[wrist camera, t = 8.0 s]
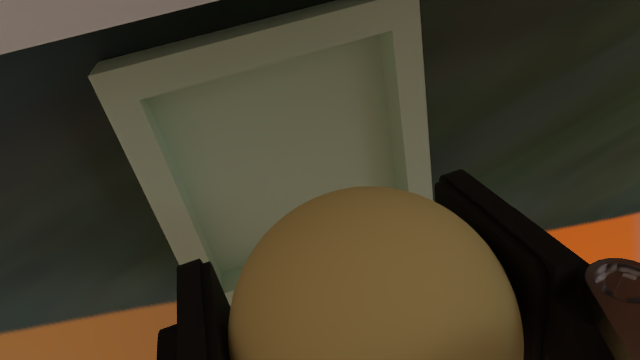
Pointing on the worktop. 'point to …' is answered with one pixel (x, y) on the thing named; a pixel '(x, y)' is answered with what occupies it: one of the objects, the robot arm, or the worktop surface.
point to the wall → (73, 18)
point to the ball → (373, 285)
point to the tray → (270, 121)
